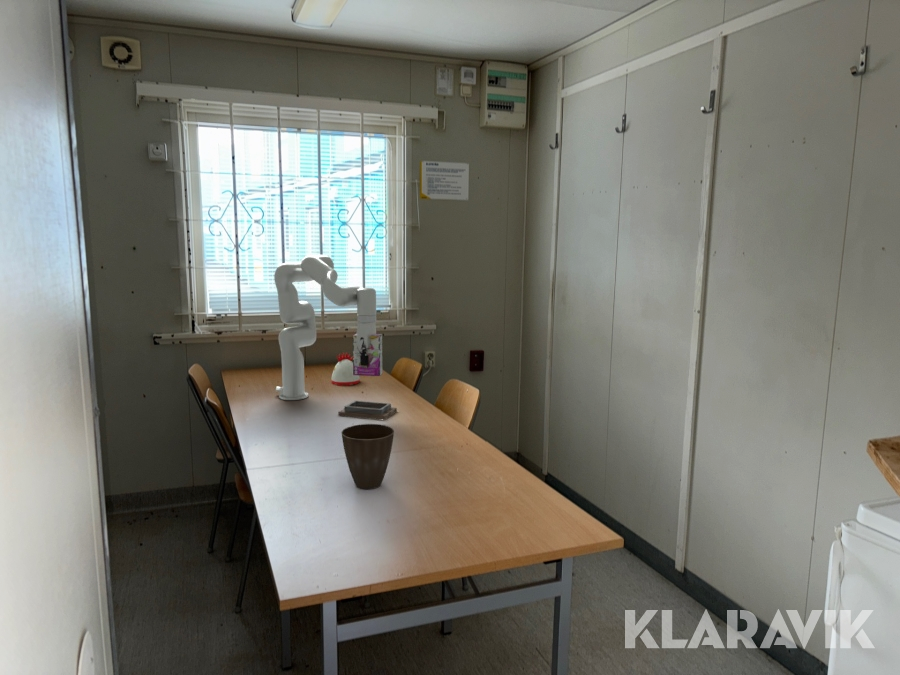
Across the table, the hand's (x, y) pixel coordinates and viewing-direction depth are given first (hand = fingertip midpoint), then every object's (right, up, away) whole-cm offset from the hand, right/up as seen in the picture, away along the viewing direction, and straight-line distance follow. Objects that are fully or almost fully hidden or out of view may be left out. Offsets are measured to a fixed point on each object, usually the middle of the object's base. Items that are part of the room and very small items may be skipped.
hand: (367, 363), depth 248 cm
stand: (0, -21, +3) cm, 21 cm away
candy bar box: (0, -5, +1) cm, 5 cm away
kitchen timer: (-19, -12, +58) cm, 62 cm away
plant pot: (+10, -32, -69) cm, 77 cm away
